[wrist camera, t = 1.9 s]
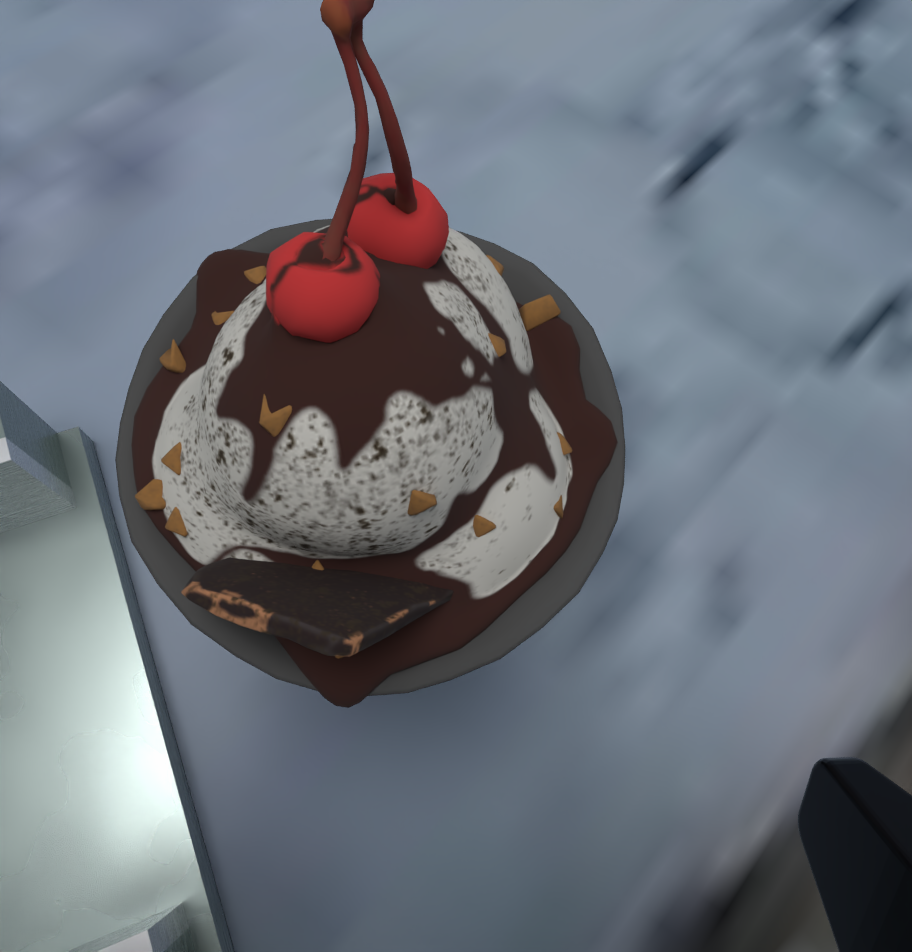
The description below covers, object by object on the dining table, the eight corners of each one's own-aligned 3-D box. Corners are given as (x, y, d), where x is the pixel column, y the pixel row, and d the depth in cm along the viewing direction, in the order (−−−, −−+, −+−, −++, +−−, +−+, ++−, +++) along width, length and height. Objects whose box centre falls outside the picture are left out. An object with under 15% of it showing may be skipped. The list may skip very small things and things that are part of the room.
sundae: (403, 399, 22) (427, -246, 7) (569, 596, 20) (981, 269, 6) (193, 550, 20) (-297, 90, 6) (358, 774, 19) (251, 892, 4)
